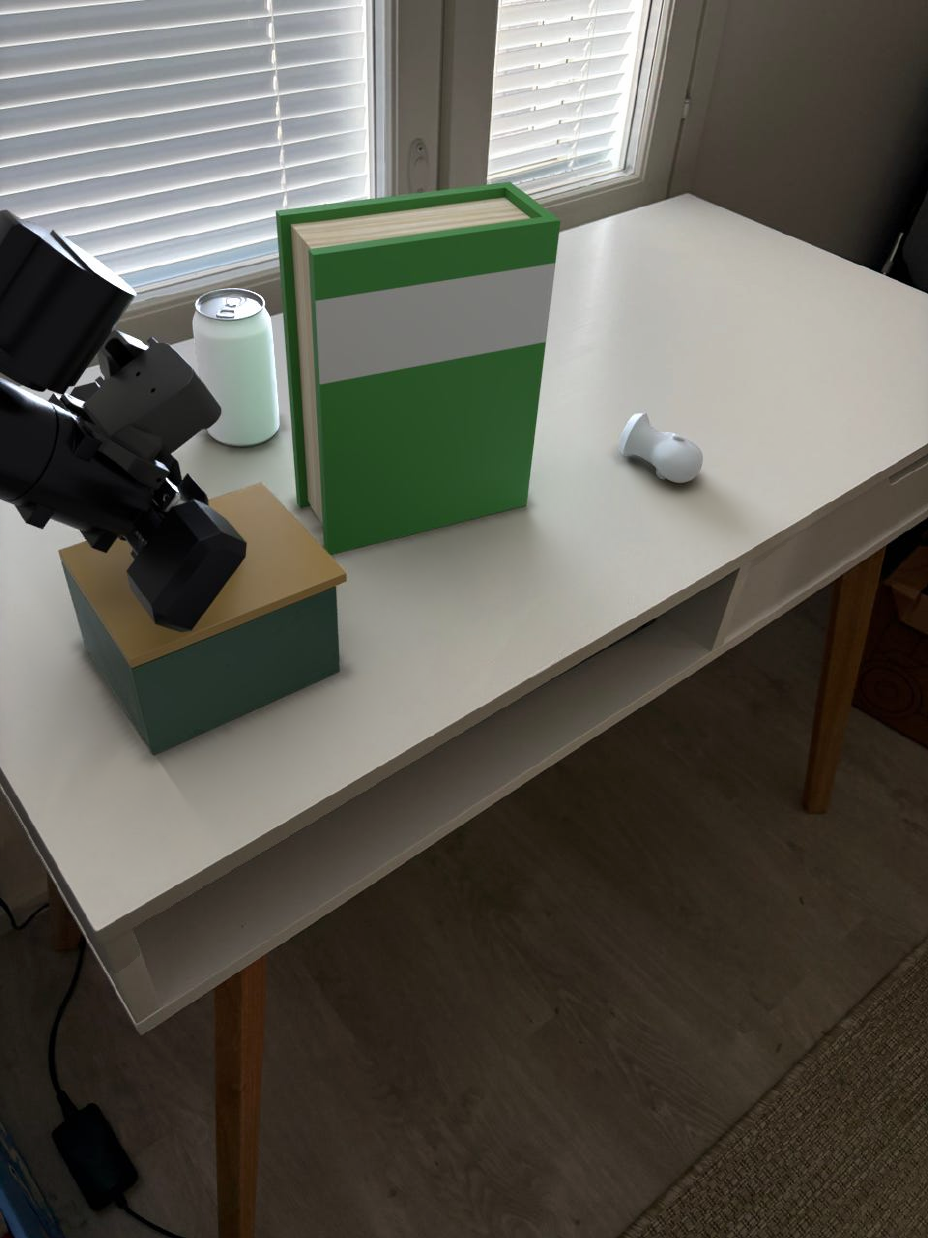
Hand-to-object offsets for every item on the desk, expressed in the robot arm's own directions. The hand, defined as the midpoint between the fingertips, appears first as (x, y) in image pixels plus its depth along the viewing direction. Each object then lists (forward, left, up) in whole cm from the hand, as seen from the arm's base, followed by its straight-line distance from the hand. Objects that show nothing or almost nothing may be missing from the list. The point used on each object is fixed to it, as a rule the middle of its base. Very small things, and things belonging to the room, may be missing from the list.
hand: (237, 543), depth 65 cm
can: (+5, +27, -9) cm, 29 cm away
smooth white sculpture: (+39, +11, -9) cm, 42 cm away
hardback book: (+16, +12, -9) cm, 22 cm away
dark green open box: (-3, -1, -9) cm, 9 cm away
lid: (-2, -1, -1) cm, 3 cm away
